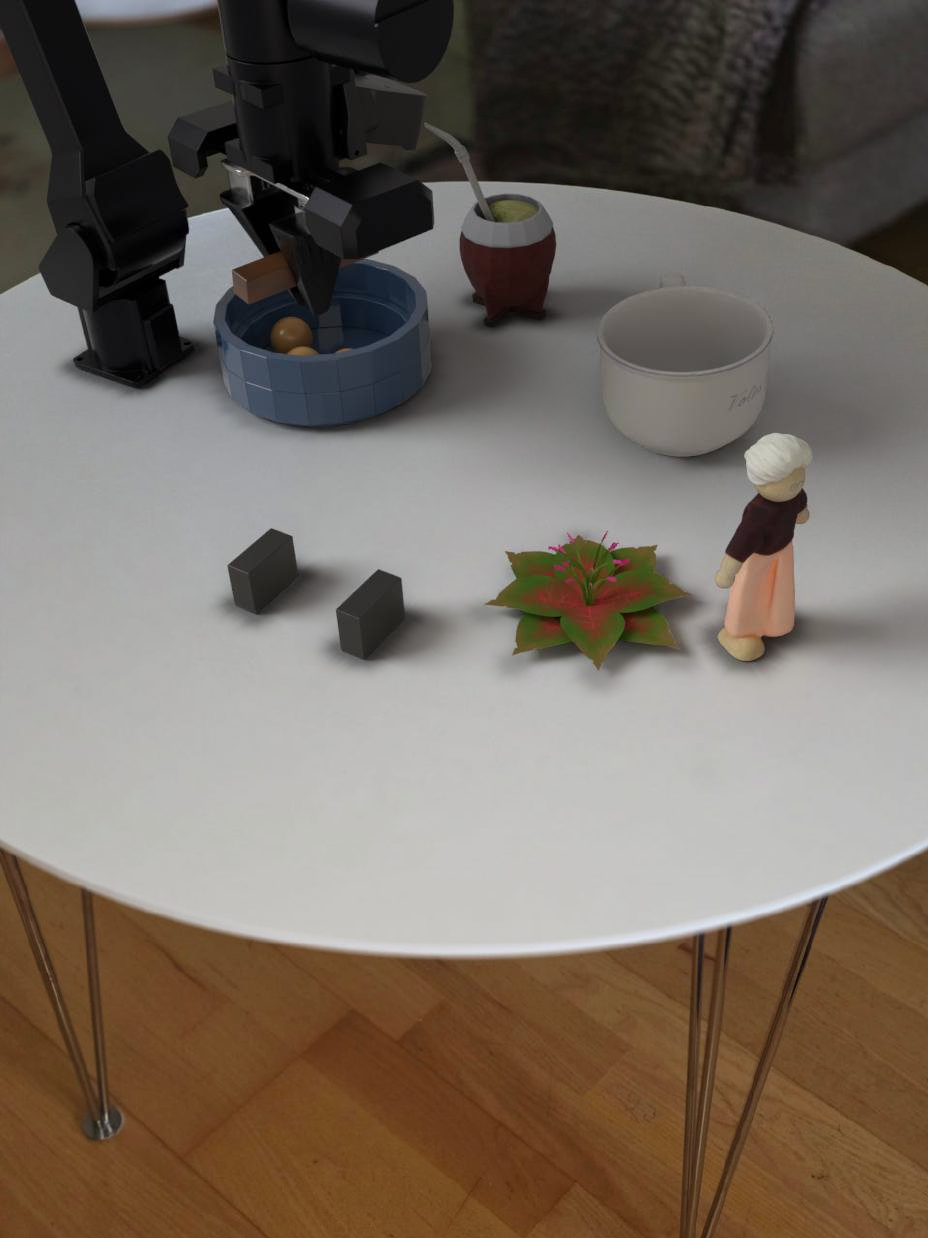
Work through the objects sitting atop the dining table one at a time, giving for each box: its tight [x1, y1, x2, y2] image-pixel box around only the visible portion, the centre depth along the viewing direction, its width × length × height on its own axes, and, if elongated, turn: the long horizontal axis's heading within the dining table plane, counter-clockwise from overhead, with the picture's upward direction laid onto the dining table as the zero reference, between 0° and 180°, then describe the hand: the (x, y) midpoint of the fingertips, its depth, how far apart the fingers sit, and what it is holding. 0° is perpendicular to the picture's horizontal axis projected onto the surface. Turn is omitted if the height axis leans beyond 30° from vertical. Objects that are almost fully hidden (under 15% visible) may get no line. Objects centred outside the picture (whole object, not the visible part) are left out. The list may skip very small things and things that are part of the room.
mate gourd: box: [423, 122, 557, 328], centre depth 98 cm, size 8×8×15 cm
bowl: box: [212, 258, 433, 428], centre depth 95 cm, size 15×15×6 cm
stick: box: [231, 251, 380, 304], centre depth 82 cm, size 10×2×2 cm, turn 130°
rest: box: [226, 527, 406, 660], centre depth 77 cm, size 9×4×3 cm, turn 57°
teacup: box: [596, 272, 775, 458], centre depth 89 cm, size 14×11×8 cm
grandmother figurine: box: [714, 432, 814, 662], centre depth 71 cm, size 8×4×13 cm, turn 148°
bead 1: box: [270, 317, 313, 354], centre depth 97 cm, size 3×3×3 cm
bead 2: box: [287, 346, 320, 356], centre depth 94 cm, size 3×3×3 cm
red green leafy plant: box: [483, 530, 693, 672], centre depth 76 cm, size 12×12×5 cm
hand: (312, 308), depth 84 cm, fingers closed on stick, 1 cm apart
